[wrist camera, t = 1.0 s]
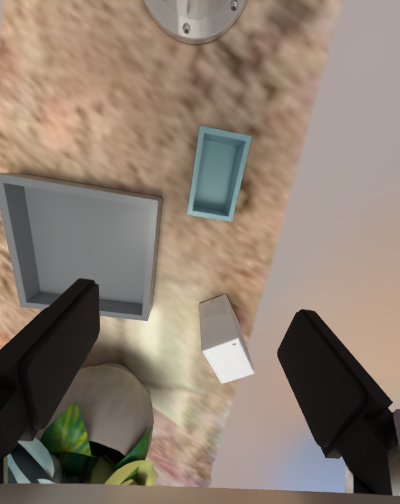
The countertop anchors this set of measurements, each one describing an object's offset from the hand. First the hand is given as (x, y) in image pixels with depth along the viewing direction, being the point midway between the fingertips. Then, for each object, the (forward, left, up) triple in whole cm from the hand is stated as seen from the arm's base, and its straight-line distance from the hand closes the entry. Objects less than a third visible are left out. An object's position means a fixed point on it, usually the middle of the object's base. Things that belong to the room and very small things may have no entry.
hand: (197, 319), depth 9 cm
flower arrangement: (+38, -12, -23) cm, 46 cm away
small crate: (-6, +2, -23) cm, 24 cm away
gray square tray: (+8, -15, -23) cm, 28 cm away
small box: (+18, +8, -23) cm, 30 cm away
